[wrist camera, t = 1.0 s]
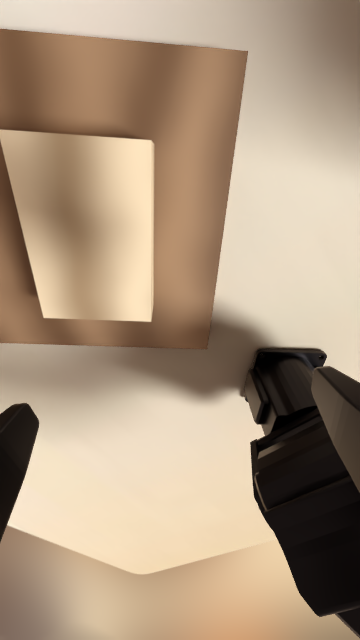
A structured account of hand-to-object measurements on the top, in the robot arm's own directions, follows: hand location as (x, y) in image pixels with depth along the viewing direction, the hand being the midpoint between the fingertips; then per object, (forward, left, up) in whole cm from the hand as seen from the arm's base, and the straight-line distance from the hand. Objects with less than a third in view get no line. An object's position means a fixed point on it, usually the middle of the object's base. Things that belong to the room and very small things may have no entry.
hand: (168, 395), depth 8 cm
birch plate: (+5, -2, -12) cm, 13 cm away
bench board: (+9, -2, -13) cm, 16 cm away
